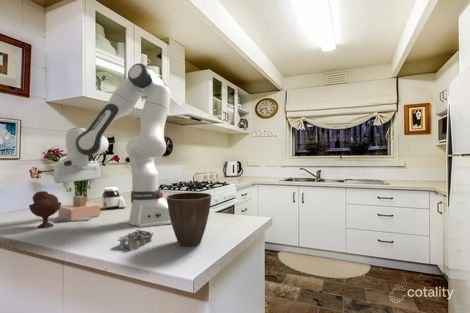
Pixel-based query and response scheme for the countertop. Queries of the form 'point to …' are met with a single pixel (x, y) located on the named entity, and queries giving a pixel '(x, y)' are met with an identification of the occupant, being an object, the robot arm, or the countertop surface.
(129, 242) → the egg carton
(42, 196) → the ice cream bowl
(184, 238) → the plant pot
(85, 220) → the mat
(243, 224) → the countertop surface
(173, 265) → the countertop surface
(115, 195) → the spread jar
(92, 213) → the cover
